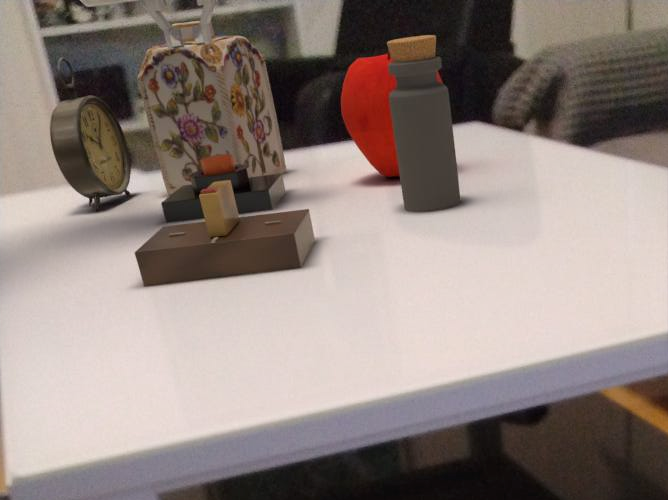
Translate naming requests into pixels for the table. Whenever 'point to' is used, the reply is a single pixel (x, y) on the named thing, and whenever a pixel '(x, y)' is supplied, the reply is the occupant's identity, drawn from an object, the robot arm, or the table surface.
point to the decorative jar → (209, 106)
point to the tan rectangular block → (219, 208)
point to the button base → (246, 189)
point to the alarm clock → (89, 145)
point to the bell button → (217, 164)
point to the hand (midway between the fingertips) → (190, 46)
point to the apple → (371, 111)
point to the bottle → (422, 126)
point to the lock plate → (226, 248)
